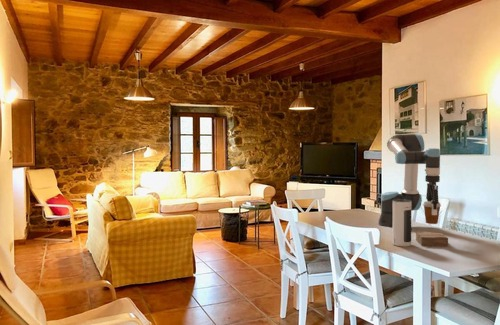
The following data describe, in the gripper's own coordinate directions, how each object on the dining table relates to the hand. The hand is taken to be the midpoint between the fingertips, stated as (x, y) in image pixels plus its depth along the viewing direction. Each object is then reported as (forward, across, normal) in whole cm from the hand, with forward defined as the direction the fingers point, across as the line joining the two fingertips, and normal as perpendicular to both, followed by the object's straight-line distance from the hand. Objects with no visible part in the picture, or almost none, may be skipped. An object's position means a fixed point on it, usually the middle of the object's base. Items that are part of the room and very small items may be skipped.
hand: (431, 213), depth 238 cm
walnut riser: (+18, 0, 0) cm, 18 cm away
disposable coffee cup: (+6, 0, 0) cm, 6 cm away
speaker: (+18, +5, -18) cm, 26 cm away
